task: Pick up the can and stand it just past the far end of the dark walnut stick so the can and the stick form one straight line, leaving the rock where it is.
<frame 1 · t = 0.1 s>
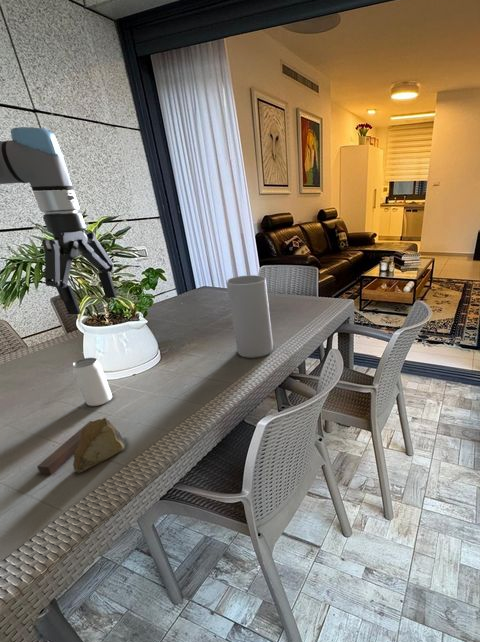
hand: (94, 305, 89), 26 cm above the table, tool pointing down, fingers open, 13 cm apart
can: (100, 401, 99), on the table
walnut stick: (73, 448, 80), on the table
cylinder vase: (255, 351, 125), on the table
rock: (101, 457, 78), on the table
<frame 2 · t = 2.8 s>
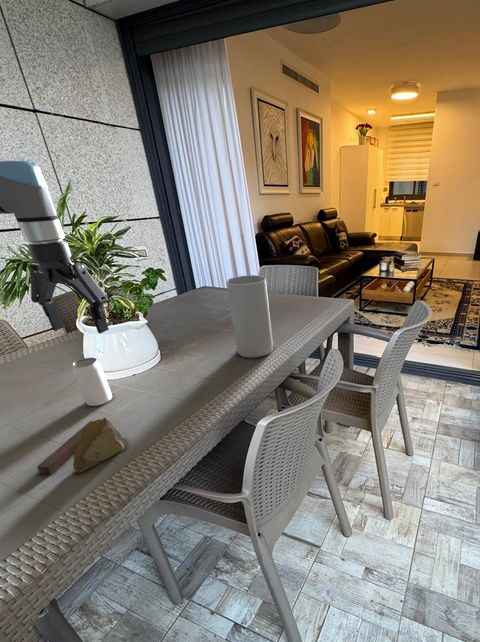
hand: (81, 330, 89), 21 cm above the table, tool pointing down, fingers open, 13 cm apart
nothing on the table moved.
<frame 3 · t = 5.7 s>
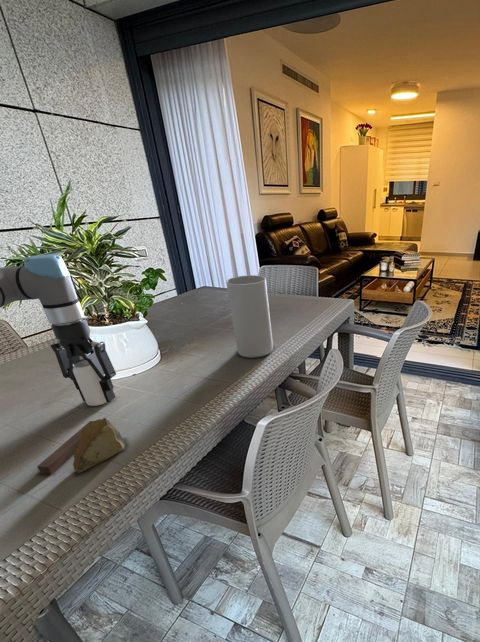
hand: (99, 399, 98), 0 cm above the table, tool pointing down, fingers closed on can, 6 cm apart
can: (100, 401, 99), on the table, touching gripper
everything else where it was.
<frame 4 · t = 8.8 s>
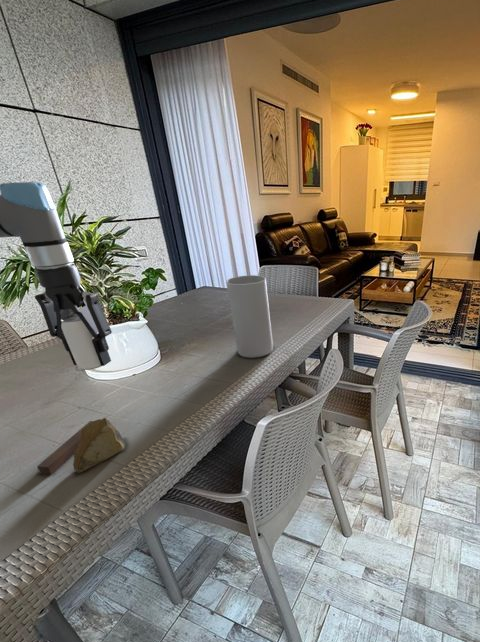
hand: (92, 362, 86), 15 cm above the table, tool pointing down, fingers closed on can, 6 cm apart
can: (93, 365, 86), point 14 cm above the table, touching gripper
everything else where it was.
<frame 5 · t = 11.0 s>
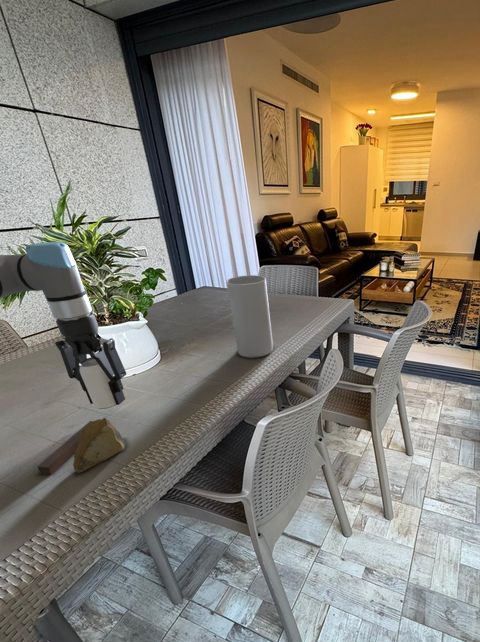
hand: (108, 401, 90), 4 cm above the table, tool pointing down, fingers closed on can, 6 cm apart
can: (108, 403, 91), point 3 cm above the table, touching gripper
everything else where it was.
when the fingers open (0 cm above the table, at t = 12.3 s): can stays where it is, on the table.
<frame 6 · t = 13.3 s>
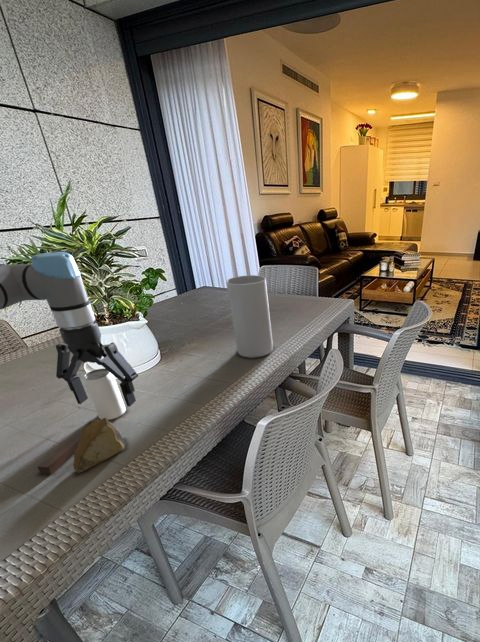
hand: (107, 402, 91), 4 cm above the table, tool pointing down, fingers open, 13 cm apart
can: (113, 414, 93), on the table
everything else where it was.
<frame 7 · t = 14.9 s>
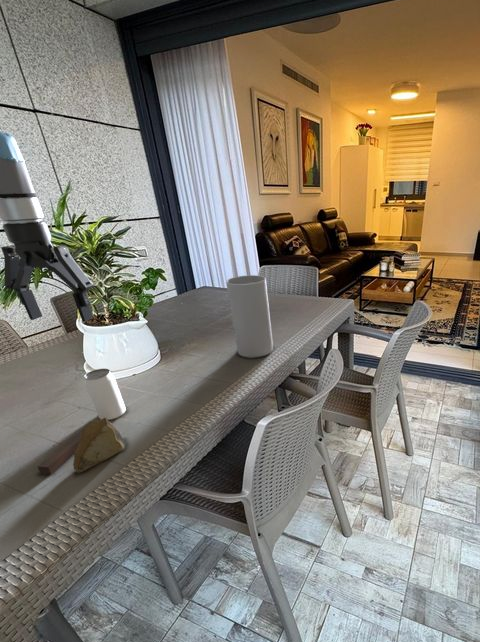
hand: (62, 319, 84), 25 cm above the table, tool pointing down, fingers open, 13 cm apart
nothing on the table moved.
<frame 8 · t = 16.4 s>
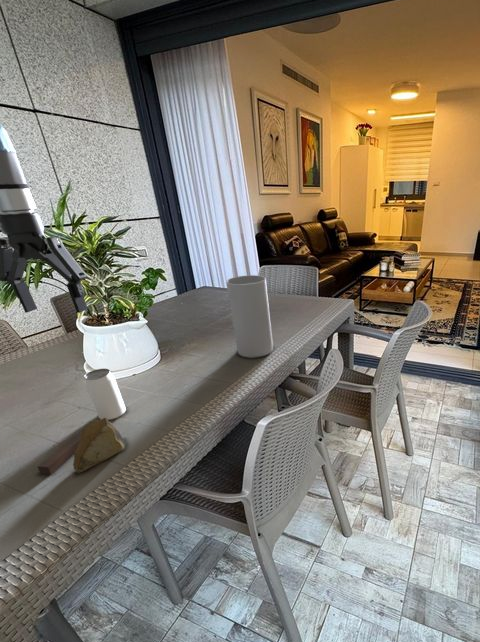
hand: (56, 310, 84), 27 cm above the table, tool pointing down, fingers open, 13 cm apart
nothing on the table moved.
at the end: can 0.2 cm from the target spot, on the table; can tilted 0°; rock moved 0.2 cm from its start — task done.
